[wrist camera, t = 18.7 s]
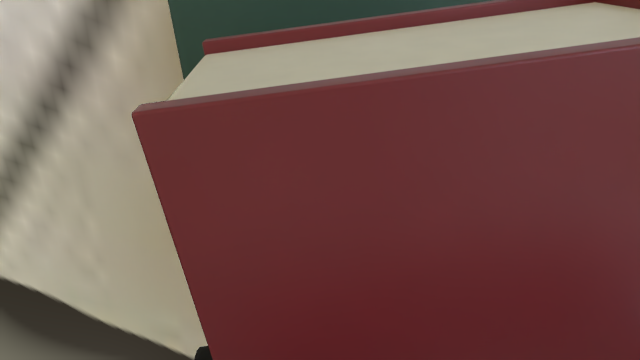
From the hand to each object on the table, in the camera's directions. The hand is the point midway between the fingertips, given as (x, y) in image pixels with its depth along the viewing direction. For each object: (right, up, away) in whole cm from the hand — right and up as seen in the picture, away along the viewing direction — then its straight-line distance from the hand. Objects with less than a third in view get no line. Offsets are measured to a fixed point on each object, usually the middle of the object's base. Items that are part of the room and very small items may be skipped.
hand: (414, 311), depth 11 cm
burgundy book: (0, 0, 0) cm, 0 cm away
